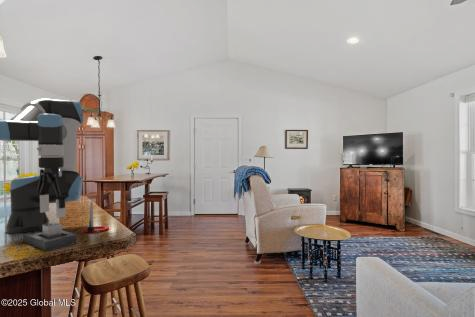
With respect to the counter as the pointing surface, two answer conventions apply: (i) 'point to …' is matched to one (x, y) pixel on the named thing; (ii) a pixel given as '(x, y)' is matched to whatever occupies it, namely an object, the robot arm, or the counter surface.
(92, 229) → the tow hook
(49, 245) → the dark grey tray
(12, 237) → the counter surface
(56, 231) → the block
